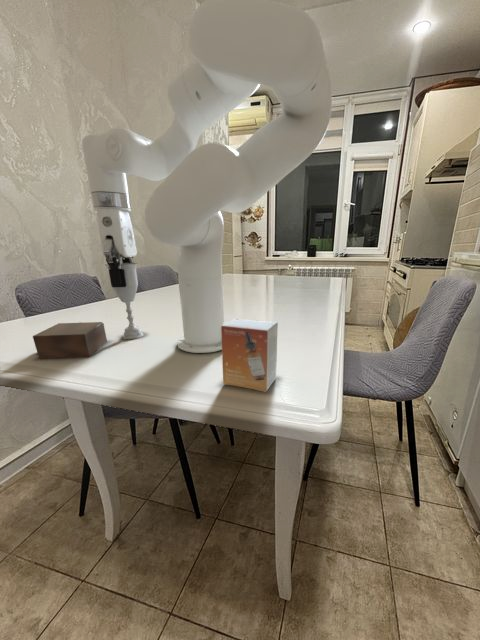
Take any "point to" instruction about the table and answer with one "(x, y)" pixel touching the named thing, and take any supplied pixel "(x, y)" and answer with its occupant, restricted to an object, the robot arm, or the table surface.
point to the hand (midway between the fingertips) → (124, 284)
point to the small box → (249, 353)
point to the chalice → (129, 298)
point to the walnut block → (70, 340)
